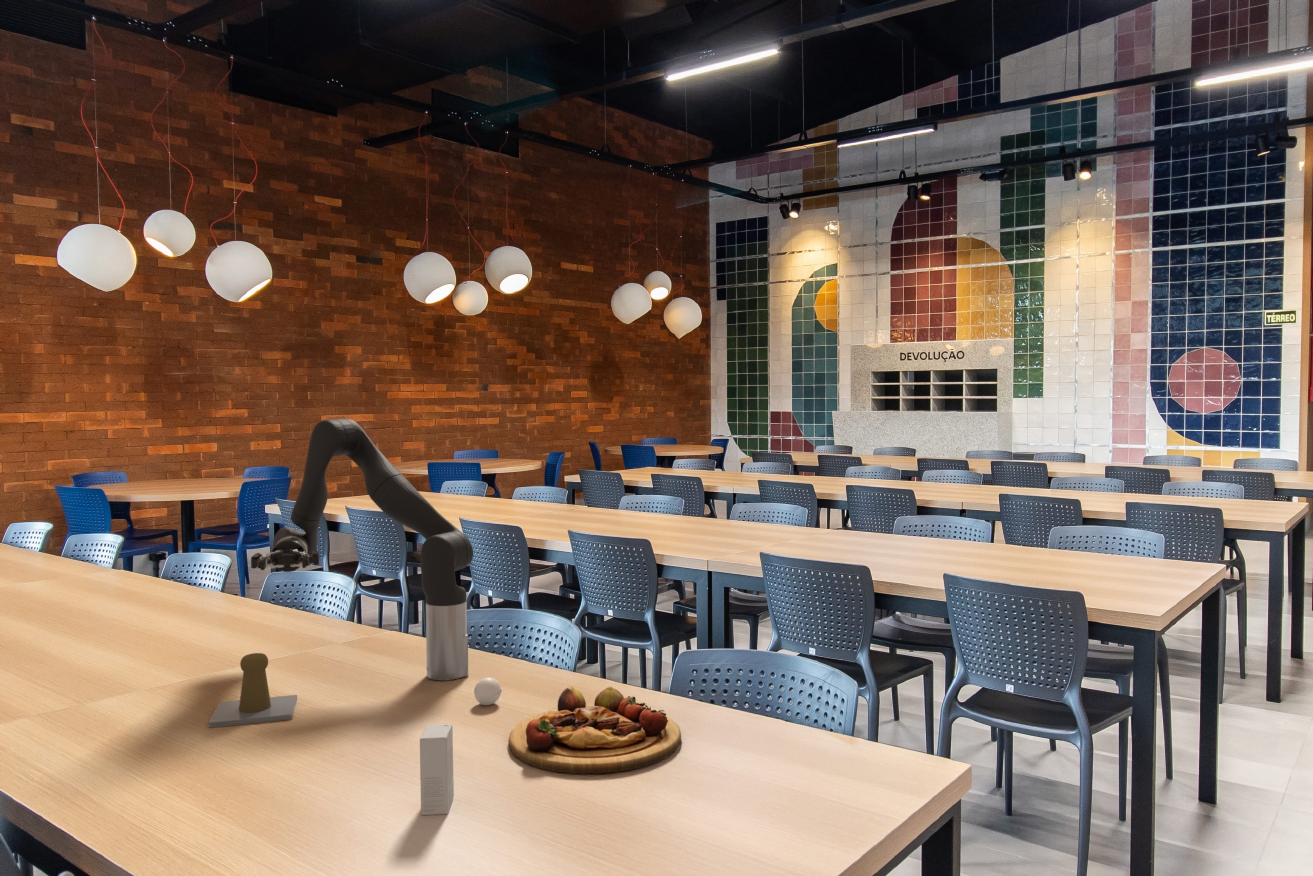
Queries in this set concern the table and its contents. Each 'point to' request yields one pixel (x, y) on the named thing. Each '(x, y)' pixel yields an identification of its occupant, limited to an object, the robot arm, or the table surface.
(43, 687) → the table surface
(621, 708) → the wooden plate with food
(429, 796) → the skincare box
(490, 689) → the white egg
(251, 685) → the cork
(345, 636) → the table surface
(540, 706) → the table surface
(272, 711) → the slate tile
